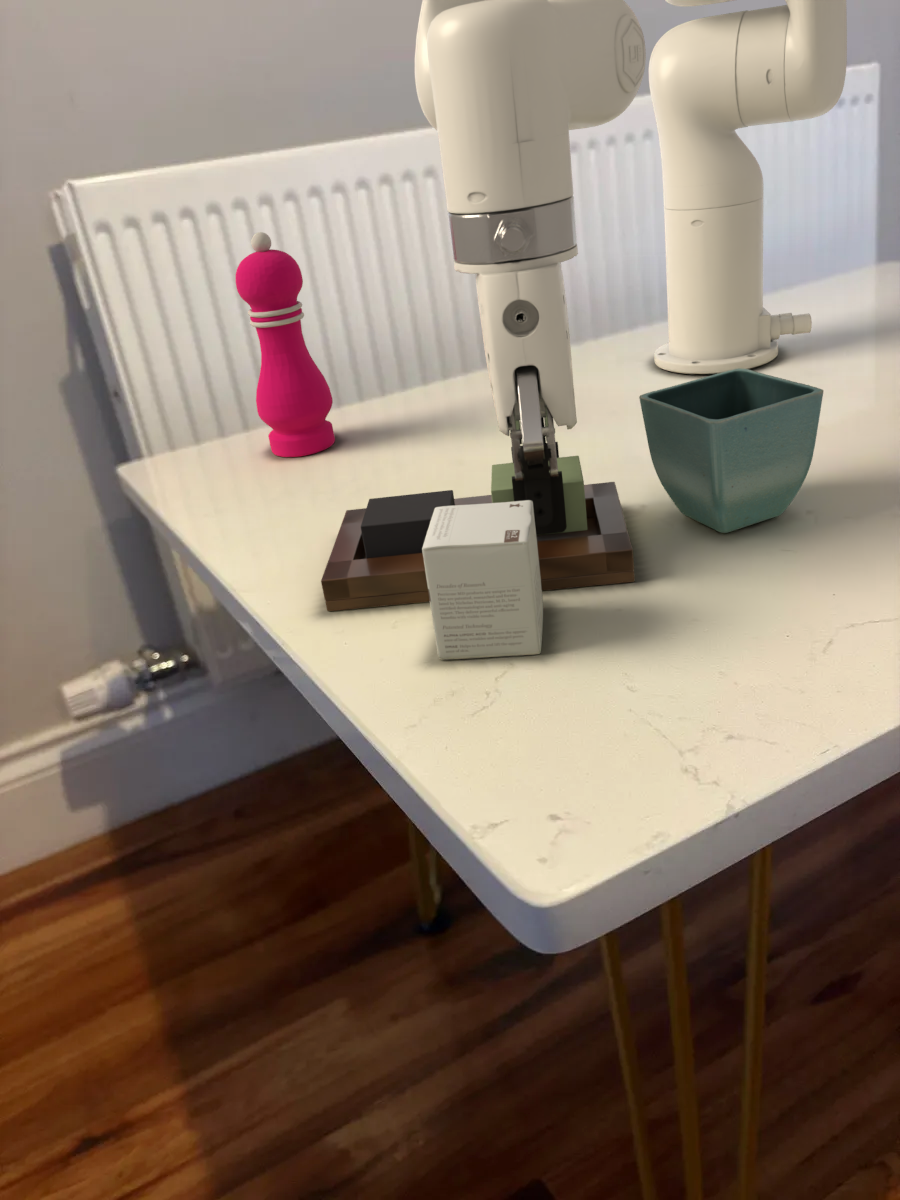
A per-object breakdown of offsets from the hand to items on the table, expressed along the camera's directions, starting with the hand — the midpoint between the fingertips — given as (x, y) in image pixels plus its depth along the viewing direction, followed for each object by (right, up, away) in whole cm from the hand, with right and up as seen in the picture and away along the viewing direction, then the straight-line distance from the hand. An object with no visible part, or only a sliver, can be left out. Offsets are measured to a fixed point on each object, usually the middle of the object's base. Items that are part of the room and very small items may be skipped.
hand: (540, 512), depth 70 cm
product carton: (-4, -8, -8) cm, 12 cm away
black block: (-9, -3, +2) cm, 9 cm away
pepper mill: (-20, +9, +30) cm, 38 cm away
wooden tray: (-4, -3, +2) cm, 5 cm away
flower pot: (+14, 0, +3) cm, 14 cm away
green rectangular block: (0, -1, 0) cm, 1 cm away
